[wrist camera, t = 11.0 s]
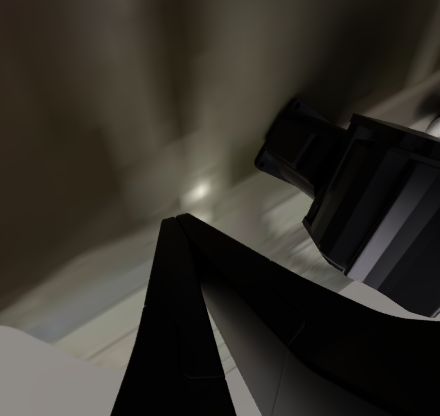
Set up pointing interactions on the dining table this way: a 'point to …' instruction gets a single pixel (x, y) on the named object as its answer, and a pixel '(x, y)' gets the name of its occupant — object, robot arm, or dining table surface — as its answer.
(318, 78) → the dining table surface
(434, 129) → the bunny figurine
